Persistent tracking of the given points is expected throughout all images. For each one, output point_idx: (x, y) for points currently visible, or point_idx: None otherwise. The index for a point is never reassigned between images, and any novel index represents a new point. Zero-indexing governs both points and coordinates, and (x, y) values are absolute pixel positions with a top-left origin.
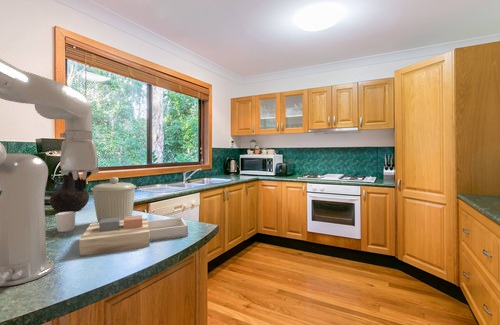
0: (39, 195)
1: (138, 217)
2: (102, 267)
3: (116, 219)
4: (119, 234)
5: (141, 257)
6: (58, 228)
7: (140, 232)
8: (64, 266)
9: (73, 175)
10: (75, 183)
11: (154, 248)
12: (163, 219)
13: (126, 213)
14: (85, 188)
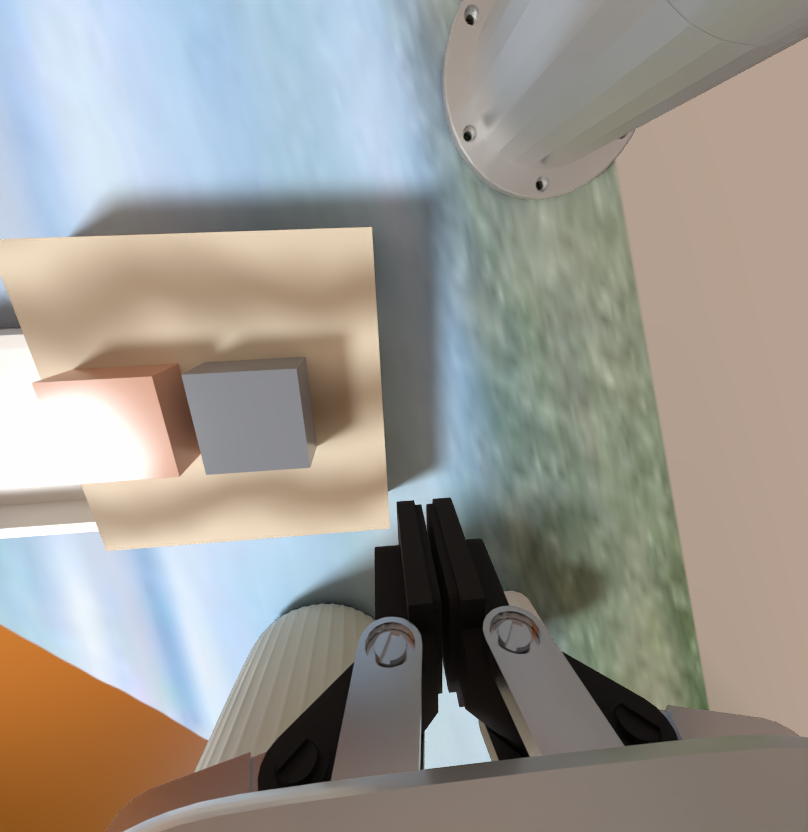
0: None
1: (73, 426)
2: (224, 6)
3: (211, 422)
4: (171, 252)
5: (53, 71)
6: (530, 605)
7: (44, 243)
8: (405, 117)
9: (565, 677)
10: (493, 580)
11: (19, 196)
12: (17, 532)
13: (252, 658)
14: (378, 548)
